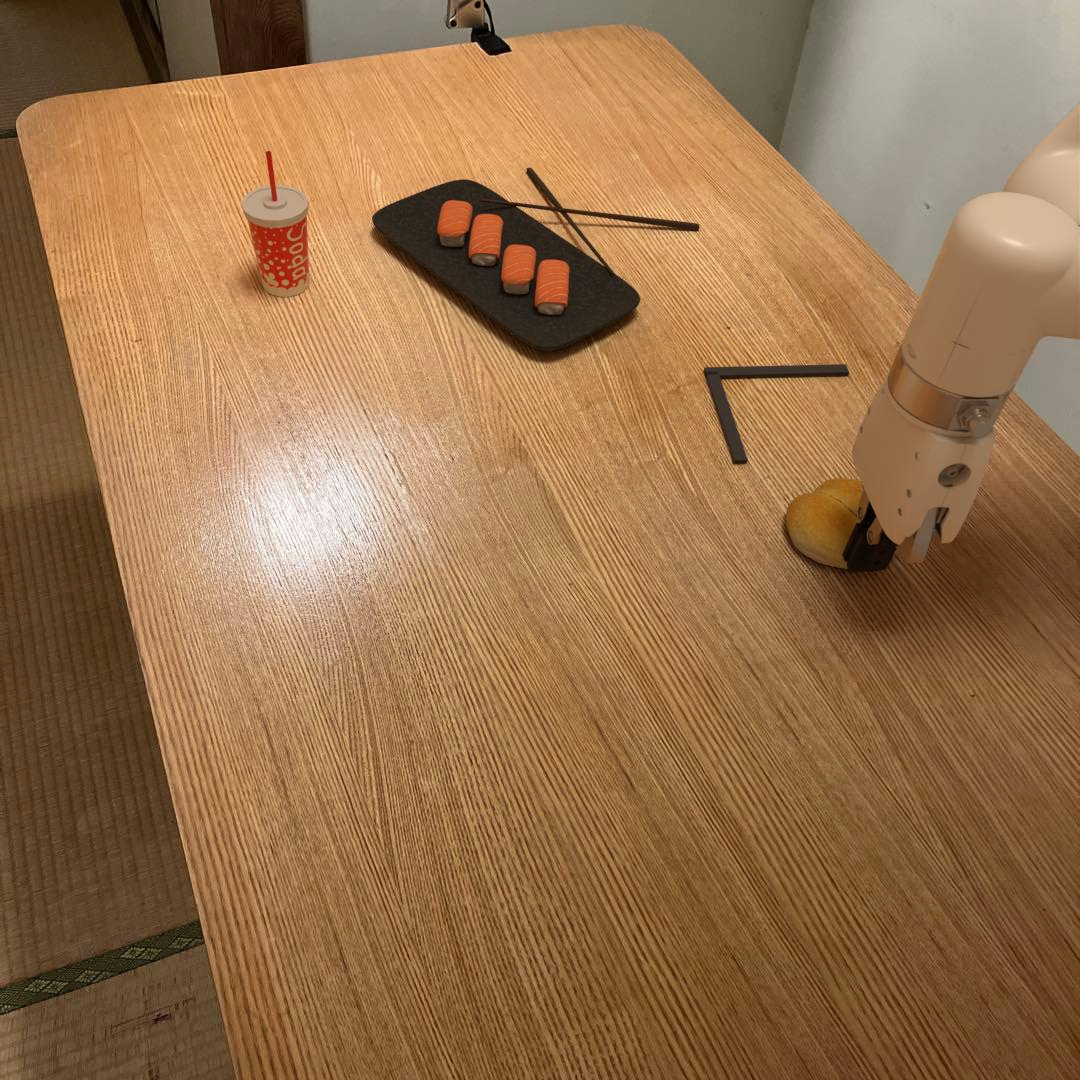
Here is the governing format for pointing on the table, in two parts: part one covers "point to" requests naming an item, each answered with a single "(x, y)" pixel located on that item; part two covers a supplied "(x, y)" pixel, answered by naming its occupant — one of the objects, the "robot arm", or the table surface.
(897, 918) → the table surface
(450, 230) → the sushi plate
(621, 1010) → the table surface
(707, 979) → the table surface
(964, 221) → the robot arm
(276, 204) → the beverage cup
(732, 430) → the corner guide
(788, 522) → the bread roll
